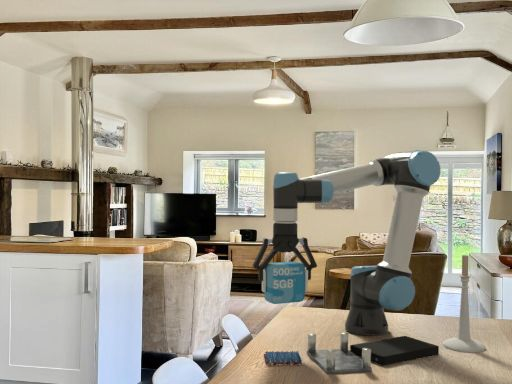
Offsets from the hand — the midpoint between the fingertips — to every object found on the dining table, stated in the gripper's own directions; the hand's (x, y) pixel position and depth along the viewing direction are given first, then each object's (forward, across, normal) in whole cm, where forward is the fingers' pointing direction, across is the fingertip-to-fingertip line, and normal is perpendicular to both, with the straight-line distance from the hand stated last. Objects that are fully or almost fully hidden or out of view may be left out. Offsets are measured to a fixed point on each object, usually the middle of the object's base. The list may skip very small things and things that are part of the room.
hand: (284, 291), depth 178 cm
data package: (+3, 0, 0) cm, 3 cm away
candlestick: (+19, -58, +4) cm, 62 cm away
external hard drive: (+19, -33, +8) cm, 39 cm away
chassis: (+18, -13, +14) cm, 26 cm away
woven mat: (+19, +3, +10) cm, 22 cm away
